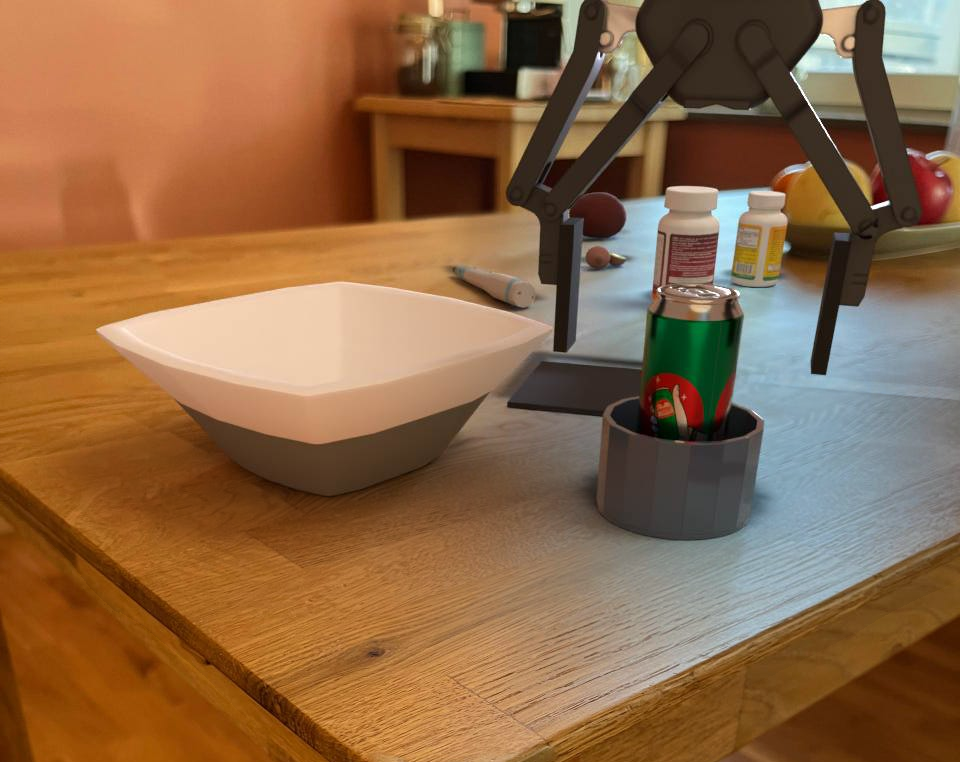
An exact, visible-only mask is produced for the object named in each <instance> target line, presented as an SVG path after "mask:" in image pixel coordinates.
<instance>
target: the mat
mask: <svg viewBox="0 0 960 762" xmlns="http://www.w3.org/2000/svg"><path fill="white" fill-rule="evenodd" d="M641 373H642V368H631V367H619V366H608V365H607V366H606V365H593V364H583V363H582V364H581V363H571V362H558V361H547V360H541V361H540V362H539V364H538V365H537V366H536V367H535V368H534V370H533V371H532V372H531V373H530V374H529V375H528V376H527V378H526V379H525V380H524V381H523V383H521V385H520V386H519V387H518V389H517V390H516V391H515V392H514V393H513V394H512V396H511V397H510V398H509V399H508V401H507V403H506V406H507V407H508V408H514V409H515V408H517V409H524V410H525V409H527V410H537V411H548V412H558V413H569V414H578V415H591V416H601V417H603V414H604V412H605V410H606V408H607V406H609V405H611V404H613V403H615V402H618V401H620V400H622V399H625V398H631V397H637V396H639V395H640V384H641Z"/></svg>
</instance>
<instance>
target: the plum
mask: <svg viewBox="0 0 960 762" xmlns="http://www.w3.org/2000/svg"><path fill="white" fill-rule="evenodd" d="M570 217H572V218H584V220H583V235H582V237H583V236H584V237H587V238H591V239H599V240H600V239H608V238H611V237H614V236H616V235H617V234H619V233H621V231H622V230H623V228H624V227H625V225H626V222H627V211H626V208H625V206H624V204H623V203H622V201H621V200H620V199H618V198H617V196H615V195H613V194H611V193H608V192H604V191H603V192H602V191H601V192H600V191H595V192H591V193H586V194H583V195H582V196H581V197H580V198H579V200H578V201H577V202H576V203H575V204H574V205H573V206H572V208H571V209H570V211H569V214H568V218H570Z"/></svg>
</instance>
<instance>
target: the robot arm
mask: <svg viewBox="0 0 960 762" xmlns="http://www.w3.org/2000/svg"><path fill="white" fill-rule="evenodd" d="M886 14H887V13H886V6H885V5H884V3H883V2H882V1H881V0H866V1H864V2H863V3H861V4H856V5H848V6H839V7H830V8H822V6H821V4H820V0H643V1H642V3H641V4H640V7H639V6H632V5H625V4H619V3H611V2H609V1H608V0H583V1H582V3H580V7H579V10H578V17H577V24H576V30H575V36H574V37H575V38H574V42H573V50H572V52H571V54H570V56H569V58H568V61H567V62H566V64H565V67H564V68H563V71H562V73H561V75H560V77H559V79H558V81H557V84H556V85H555V87H554V89H553V92H552V94H551V96H550V97H549V100H548V102H547V104H546V106H545V108H544V109H543V112H542V114H541V116H540V118H539V121H538V123H537V124H536V127H535V128H534V131H533V133H532V135H531V137H530V139H529V141H528V143H527V145H526V147H525V149H524V150H523V151H524V152H523V154H522V156H521V158H520V159H519V162H518V163H517V166H516V168H515V170H514V172H513V174H512V177H511V178H510V181H508V182H509V183H508V184H507V186H506V189H505V199H506V201H507V202H508V203H509V204H510V205H511V206H514V207H520V208H522V209H524V210H527V211H528V212H531V213H532V214H534V215H535V216H536V217H537V220H538V221H539V245H538V269H537V275H538V278H539V281H540V284H541V285H550V286H551V285H552V286H555V289H556V291H555V308H554V325H553V326H554V327H553V342H552V343H553V344H552V346H553V347H552V352H553V353H564V354H567V353H568V352H569V350H570V349H571V348H572V347H573V345H574V344H575V343H576V341H577V328H578V327H577V326H578V311H579V299H580V297H579V295H580V280H581V266H582V265H581V264H582V249H583V220H584V218H572V217H570V218H569V211H570V209H571V208H572V206H573V205H574V204H575V203H576V202H577V201H578V200H579V198H580V197H582V196H584V195H585V193H586V192H587V191H588V189H589V188H590V187H591V186H592V185H593V184H594V182H595V181H596V180H597V179H598V178H599V176H601V174H602V173H603V172H604V171H605V170H606V169H607V167H608V166H609V165H610V164H611V163H612V162H613V161H614V159H615V158H616V157H617V156H618V155H619V154H620V152H621V151H622V150H623V149H624V148H625V147H626V146H627V145H628V143H629V142H631V140H632V139H633V137H635V135H636V134H637V133H638V132H639V131H640V129H641V128H642V127H643V126H644V125H645V123H646V122H647V121H648V120H649V119H650V118H651V117H652V116H653V114H654V113H656V112H657V111H658V110H659V108H660V107H662V105H663V104H664V103H665V101H667V99H668V98H670V99H671V100H672V101H673V102H674V103H676V104H677V105H679V106H680V107H683V109H696V110H697V109H698V110H699V109H700V110H701V109H703V108H707V107H711V106H715V105H718V106H721V107H723V108H727V109H730V110H734V111H751V110H752V109H756V108H757V107H760V106H761V105H763V104H765V103H766V102H767V101H768V100H769V99H770V100H771V101H772V103H773V105H774V106H775V108H776V110H777V111H778V113H779V114H780V116H781V117H782V119H783V121H784V122H785V123H786V125H787V127H788V128H789V130H790V131H791V133H792V136H794V138H795V140H796V142H797V143H798V145H799V147H800V148H801V149H802V152H803V153H804V154H805V156H806V157H807V159H808V161H809V163H810V164H811V166H812V168H813V169H814V171H815V173H816V174H817V176H818V177H819V180H821V183H822V184H823V185H824V187H825V189H826V190H827V193H828V194H829V195H830V197H831V199H832V200H833V202H834V203H835V205H836V207H837V209H838V210H839V212H840V213H841V215H842V217H843V218H844V220H845V222H846V223H847V225H848V227H849V232H836V231H835V232H833V234H832V240H831V246H830V251H829V257H828V262H827V268H826V274H825V278H824V284H823V290H822V294H821V300H820V306H819V311H818V318H817V322H816V328H815V334H814V340H813V345H812V351H811V356H810V375H817V376H827V372H828V367H829V361H830V358H831V357H830V356H831V351H832V347H833V342H834V341H833V340H834V336H835V335H834V334H835V330H836V325H837V319H838V315H839V309H840V306H842V307H845V306H846V307H857V308H858V307H859V306H860V305H861V303H862V301H863V300H864V298H865V296H866V292H867V286H868V281H869V276H870V272H871V267H872V262H873V256H874V251H875V247H876V244H877V242H878V240H879V239H880V238H881V237H882V236H884V235H885V234H887V233H890V232H892V231H896V230H901V229H903V228H907V229H908V228H912V227H914V226H916V225H917V224H918V223H919V222H920V221H921V219H922V216H923V207H922V202H921V198H920V195H919V191H918V188H917V184H916V179H915V176H914V172H913V169H912V165H911V161H910V157H909V154H908V149H907V146H906V143H905V139H904V134H903V131H902V127H901V124H900V123H901V122H900V121H899V116H898V111H897V109H896V105H895V101H894V96H893V93H892V89H891V85H890V82H889V77H888V74H887V70H886V66H885V62H884V59H883V51H884V38H885V37H884V36H885V26H886ZM631 33H636V37H637V39H638V41H639V43H640V45H641V47H642V49H643V50H644V52H645V54H646V56H647V58H648V60H649V61H650V64H651V66H652V68H651V69H650V70H649V72H648V73H647V74H646V76H645V77H644V78H643V79H642V80H641V82H640V83H639V84H638V85H637V86H636V87H635V89H634V90H633V91H632V92H631V93H630V95H629V97H628V98H627V99H626V100H625V102H624V103H623V104H622V105H621V107H620V108H619V109H618V110H617V112H615V114H614V115H613V116H612V117H611V118H610V119H609V121H608V122H607V123H606V124H605V126H604V127H603V128H602V129H601V130H600V131H599V132H598V134H597V135H596V136H595V137H594V138H593V139H592V141H591V142H590V143H589V144H588V146H587V147H586V148H585V149H584V150H583V152H582V153H581V154H579V156H578V158H577V159H576V160H575V161H574V162H573V163H572V165H570V167H569V168H568V169H567V170H566V172H565V173H564V174H563V175H562V176H561V177H560V178H559V180H558V181H557V183H555V184H554V186H553V187H550V186H547V185H545V184H543V183H545V180H546V178H547V177H548V174H549V172H550V170H551V168H552V166H553V164H554V163H555V160H556V158H557V156H558V154H559V152H560V150H561V148H562V147H563V144H564V142H565V140H566V139H567V136H568V134H569V132H570V130H571V128H572V126H573V124H574V122H575V120H576V119H577V116H578V114H579V112H580V110H581V108H582V107H583V105H584V102H585V100H586V99H587V96H588V94H589V92H590V91H591V89H592V86H593V84H594V82H595V80H596V79H597V77H598V75H599V72H600V71H601V67H602V66H603V63H604V61H605V60H604V59H605V57H606V54H607V55H609V54H614V53H616V52H617V51H618V50H619V49H620V48H621V46H622V44H623V42H624V39H625V38H626V37H627V36H628V35H630V34H631ZM821 35H822V36H827V37H829V38H830V39H831V40H832V42H833V44H834V51H835V52H836V55H837V56H838V57H840V58H842V59H851V62H852V72H853V77H854V81H855V84H856V88H857V92H858V95H859V99H860V103H861V106H862V110H863V114H864V118H865V121H866V125H867V129H868V132H869V137H870V139H871V143H872V146H873V150H874V154H875V157H876V161H877V165H878V168H879V172H880V176H881V179H882V183H883V187H884V189H885V190H884V191H885V193H886V198H887V200H886V201H884V202H881V203H877V204H874V205H872V204H871V203H870V202H869V199H868V198H867V196H866V195H865V193H864V191H863V190H862V188H861V187H860V185H859V183H858V181H857V180H856V178H855V176H854V175H853V173H852V172H851V170H850V167H848V164H847V163H846V162H845V159H844V158H843V156H842V155H841V153H840V151H839V150H838V148H837V146H836V145H835V143H834V142H833V139H832V138H831V137H830V135H829V133H828V131H827V130H826V128H825V127H824V125H823V123H822V122H821V120H820V118H819V117H818V115H817V114H816V112H815V110H814V109H813V107H812V105H811V103H810V102H809V100H808V98H807V97H806V95H805V93H804V92H803V90H802V88H801V86H800V85H799V83H798V82H797V80H796V78H795V77H794V75H793V73H792V71H793V70H794V69H795V67H796V66H797V65H798V64H799V63H800V62H801V60H802V59H803V58H804V57H805V55H806V54H807V53H808V52H809V50H810V49H811V48H812V47H813V46H814V45H815V44H816V42H817V41H818V39H819V37H820V36H821Z"/></svg>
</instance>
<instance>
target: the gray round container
mask: <svg viewBox="0 0 960 762" xmlns="http://www.w3.org/2000/svg"><path fill="white" fill-rule="evenodd" d="M638 406H639V396H637V397H631V398H625V399H622V400H620V401H618V402H615V403H613V404H611V405H609V406H607V408H606V410H605V412H604V414H603V416H602V421H601V433H600V446H599V460H598V474H597V485H596V486H597V489H596V502H597V510H598V512H599V513H600V514H601V515H602V517H604V518H605V520H607V521H608V522H610V523H611V524H614V525H615V526H617V527H619V528H620V529H621V528H622V529H624V530H626V531H630V532H632V533H635V534H639V535H643V536H648V537H653V538H657V539H658V538H659V539H665V540H667V539H668V540H680V541H695V540H696V541H697V540H709V539H714V538H715V539H716V538H720V537H724V536H727V535H730V534H733V533H735V532H737V531H739V530H741V529H742V528H744V527H745V526H746V525H747V523H749V520H750V518H751V512H752V505H753V500H754V493H755V486H756V480H757V474H758V468H759V462H760V461H759V460H760V454H761V448H762V441H763V437H764V436H763V435H764V428H765V420H764V418H762V416H760V415H759V413H757V412H756V411H754V410H753V409H751V408H748V407H745V406H743V405H740V404H738V403H735V402H733V401H732V406H731V413H730V421H729V428H728V435H727V440H723V441H705V442H687V441H677V440H666V439H659V438H655V437H650V436H646V435H642V434H638V433H636V428H637V417H638Z"/></svg>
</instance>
